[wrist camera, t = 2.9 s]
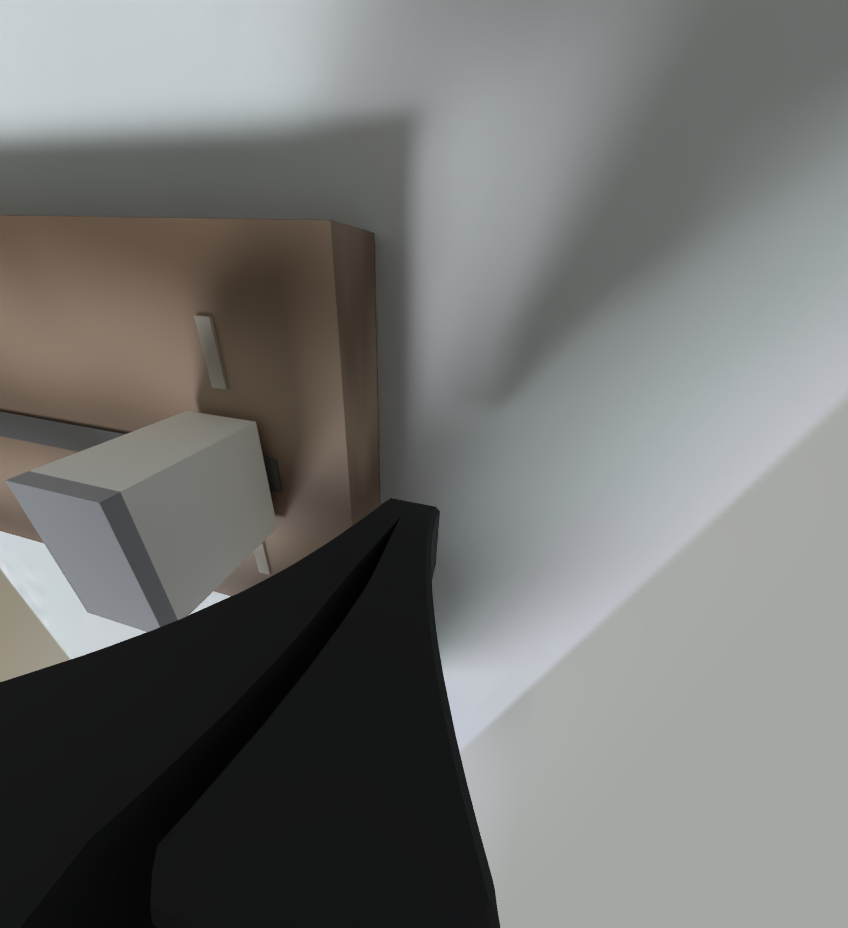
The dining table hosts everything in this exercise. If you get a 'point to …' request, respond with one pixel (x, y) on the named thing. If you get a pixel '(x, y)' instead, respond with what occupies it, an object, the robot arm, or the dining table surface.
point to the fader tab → (153, 515)
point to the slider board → (197, 355)
